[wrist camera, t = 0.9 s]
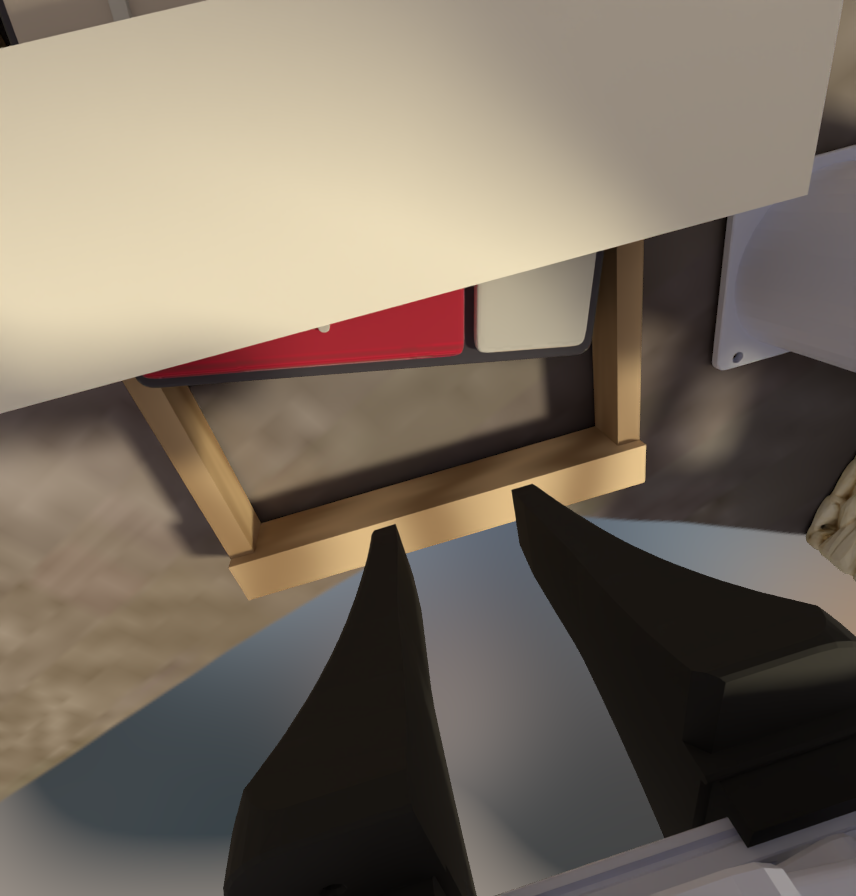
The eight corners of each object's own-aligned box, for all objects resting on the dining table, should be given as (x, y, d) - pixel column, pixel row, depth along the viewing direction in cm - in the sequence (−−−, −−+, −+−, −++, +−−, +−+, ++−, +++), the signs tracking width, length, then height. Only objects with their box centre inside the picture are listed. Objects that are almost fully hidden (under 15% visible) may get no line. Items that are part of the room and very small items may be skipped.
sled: (609, -211, 12) (670, -303, 10) (615, 455, 23) (644, 482, 20) (-95, -56, 11) (-199, -120, 9) (257, 560, 22) (248, 600, 20)
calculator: (-92, -154, 8) (679, -135, 10) (50, -44, 12) (590, -41, 13) (126, 400, 14) (602, 362, 15) (177, 357, 17) (554, 330, 19)
